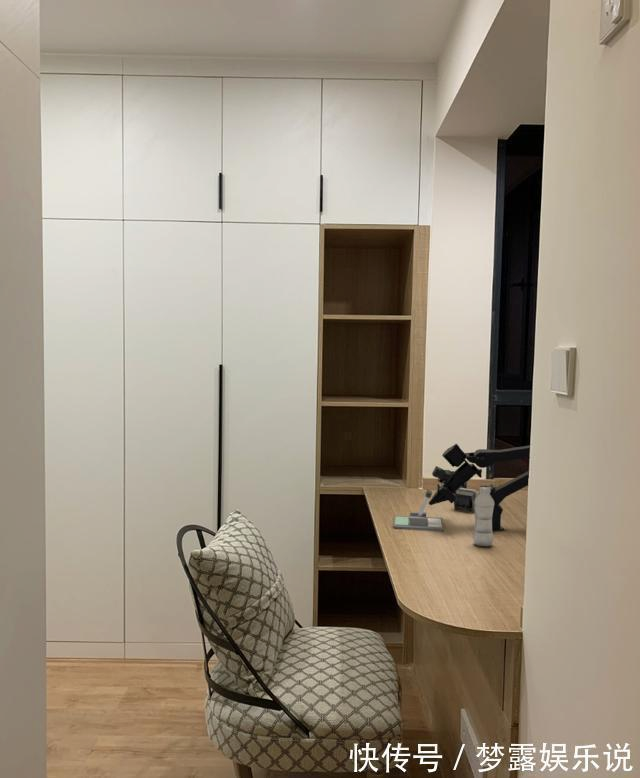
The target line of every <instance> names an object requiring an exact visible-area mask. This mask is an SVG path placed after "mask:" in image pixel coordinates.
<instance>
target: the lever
mask: <svg viewBox="0 0 640 778" xmlns="http://www.w3.org/2000/svg"><path fill="white" fill-rule="evenodd" d="M432 494H433V492H432V490H430V489H426V491H425V493H424V498H423V501H422V503H421V506H420V508H419V511H417V512H418V515H417V517H422V514H423V512H425V510H426V507H427V504H428V503H429V501H430V499H431V498H432Z"/></svg>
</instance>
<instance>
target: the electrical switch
mask: <svg viewBox="0 0 640 778" xmlns="http://www.w3.org/2000/svg"><path fill="white" fill-rule="evenodd" d="M456 492H457V493H456V494H455V496H456V500H455V501H454V502H453V505H454V507H453V508H454V511H459V510H460V511H459V512H464V511H466V513H470V512H471V514H474V513H475V508H474V500H475V498H476V496H477V495H478V491H477V490H476V489H472V488H471V489H470V488H467V489H465V488H460V489H458V490H457V491H456ZM465 509H466V510H465Z"/></svg>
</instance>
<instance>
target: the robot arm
mask: <svg viewBox="0 0 640 778" xmlns="http://www.w3.org/2000/svg"><path fill="white" fill-rule="evenodd" d="M530 445H531V444H530ZM530 445H524V446H517V447H510V448H504V449H489V448H488V449H486V448H485V449H484V448H483V449H476V450H475V451H474V452H464V451H463V449H461V447H460V446H459V444H458V443H454V445H452V446H450V447H448V448H447V449H445V450H444V452H443V453H442V454H441V456H442V457H443V459H444V460H446V462H448V464H449V465H450V466H451V467H452V468H454V467H455V468H457V469H455V470H452V471H451V470H450V471H451V472H450V473H449V472H447V471H445V470H446V469H444V468H441V467H439V466H437V465H436V466H435V467H434V469H433V471H432V473H431V474H432V477H434V478H437V482H438V483H437V485H436V491H435V493H434V494H433V496H431V498H430V499H429V500H428V505H430V506H433V505H435V504H439V503H443V502H446V501H448V502H449V503H450V504H454V501H455V500H456V496H455V494H456V493H457V492H456V491H457V490H458V489H460V488H461V487H462V486H463V487H464V486H465V483H466V482H467V483H468V482H469V481H470V480H471V479H472V478H473V477H474V476H476V475H477V477H479V478H482V473H483V470H482V469H484V468H487V467H488V468H489V467H491V466H494V465H495V464H498V463H501V462H507V461H514V460H520V459H521V460H522V459H526V458H530V457H529V448H530ZM528 474H529V470H528V471H526V472H524V473H522V474H519V475H518V476H516V477H515V478H512V479H510V480H509V481H507V482H505V483H503V484H501V485H498V486H494V484H493V483H491V484H490V485H488V486H490V487H491V488H490V490H491V492H490V495H491V496H492V498H493V500H494V508H493V514H492V532H493V531H504V530H505V528H504V527H502V526H501V523H502V522H501V521H502V514H503V511H504V509H503V508H502V506H501V503H502V502H503V501H504V500H505V499H506V498H507V497H509V496H511V495H513V494H515V493H517V492H518V491H520V490H522V489H524V488H526V487H527V486H528V487H529V485H528ZM439 483H440V484H439Z"/></svg>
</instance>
